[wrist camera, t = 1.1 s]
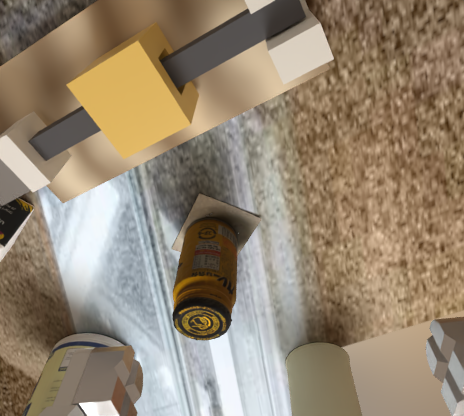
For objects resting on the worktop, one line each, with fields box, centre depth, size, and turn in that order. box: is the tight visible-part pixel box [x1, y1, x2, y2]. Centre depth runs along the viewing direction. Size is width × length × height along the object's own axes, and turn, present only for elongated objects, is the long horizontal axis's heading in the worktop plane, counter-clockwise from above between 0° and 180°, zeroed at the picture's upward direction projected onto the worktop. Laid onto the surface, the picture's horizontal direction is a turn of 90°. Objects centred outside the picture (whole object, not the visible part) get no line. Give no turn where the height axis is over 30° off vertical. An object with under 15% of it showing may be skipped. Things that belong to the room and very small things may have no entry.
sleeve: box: [66, 22, 199, 159], centre depth 30 cm, size 6×6×6 cm
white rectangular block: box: [0, 111, 72, 192], centre depth 33 cm, size 2×5×5 cm, turn 28°
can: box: [286, 342, 362, 416], centre depth 52 cm, size 9×9×12 cm
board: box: [0, 0, 330, 203], centre depth 34 cm, size 29×13×1 cm, turn 118°
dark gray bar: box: [28, 0, 306, 161], centre depth 30 cm, size 26×2×2 cm, turn 118°
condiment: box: [172, 193, 261, 340], centre depth 39 cm, size 7×8×12 cm
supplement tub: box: [22, 333, 134, 416], centre depth 51 cm, size 12×12×17 cm
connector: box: [0, 127, 31, 206], centre depth 34 cm, size 3×4×6 cm
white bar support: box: [245, 0, 334, 85], centre depth 27 cm, size 4×8×7 cm, turn 28°
